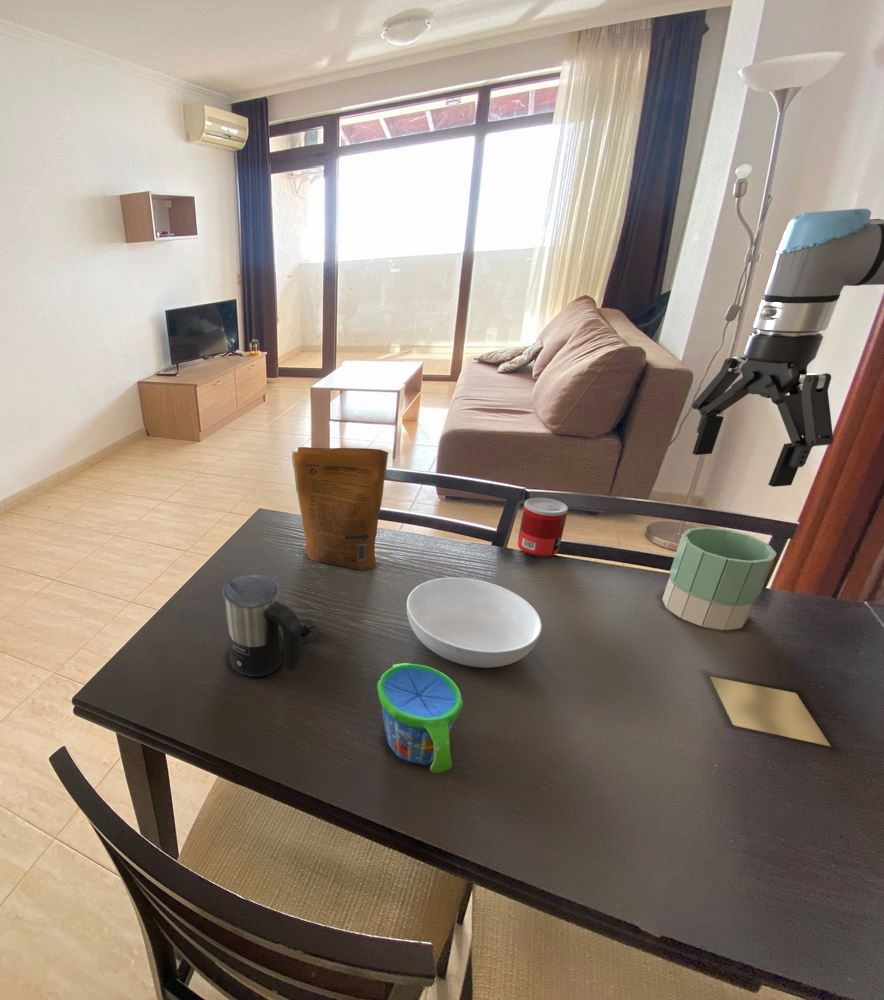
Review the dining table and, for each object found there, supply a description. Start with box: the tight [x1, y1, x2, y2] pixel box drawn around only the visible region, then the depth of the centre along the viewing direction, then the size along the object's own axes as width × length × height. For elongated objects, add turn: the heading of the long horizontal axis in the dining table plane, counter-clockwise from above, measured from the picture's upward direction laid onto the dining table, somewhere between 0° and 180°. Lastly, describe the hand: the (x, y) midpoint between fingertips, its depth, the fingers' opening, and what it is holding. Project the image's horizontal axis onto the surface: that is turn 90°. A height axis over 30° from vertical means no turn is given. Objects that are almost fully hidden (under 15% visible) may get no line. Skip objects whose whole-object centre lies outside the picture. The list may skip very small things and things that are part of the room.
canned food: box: [517, 497, 569, 558], centre depth 116 cm, size 8×8×11 cm
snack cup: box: [376, 662, 464, 774], centre depth 74 cm, size 16×10×10 cm
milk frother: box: [222, 574, 321, 678], centre depth 93 cm, size 14×16×15 cm
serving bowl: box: [406, 577, 543, 669], centre depth 93 cm, size 21×21×7 cm
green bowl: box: [669, 526, 778, 606], centre depth 93 cm, size 12×12×12 cm
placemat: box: [709, 676, 831, 747], centre depth 77 cm, size 10×10×1 cm
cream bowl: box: [662, 576, 755, 631], centre depth 95 cm, size 11×11×6 cm
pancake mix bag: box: [291, 446, 389, 571], centre depth 114 cm, size 7×19×28 cm, turn 62°
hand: (737, 468), depth 86 cm, fingers open, 13 cm apart
